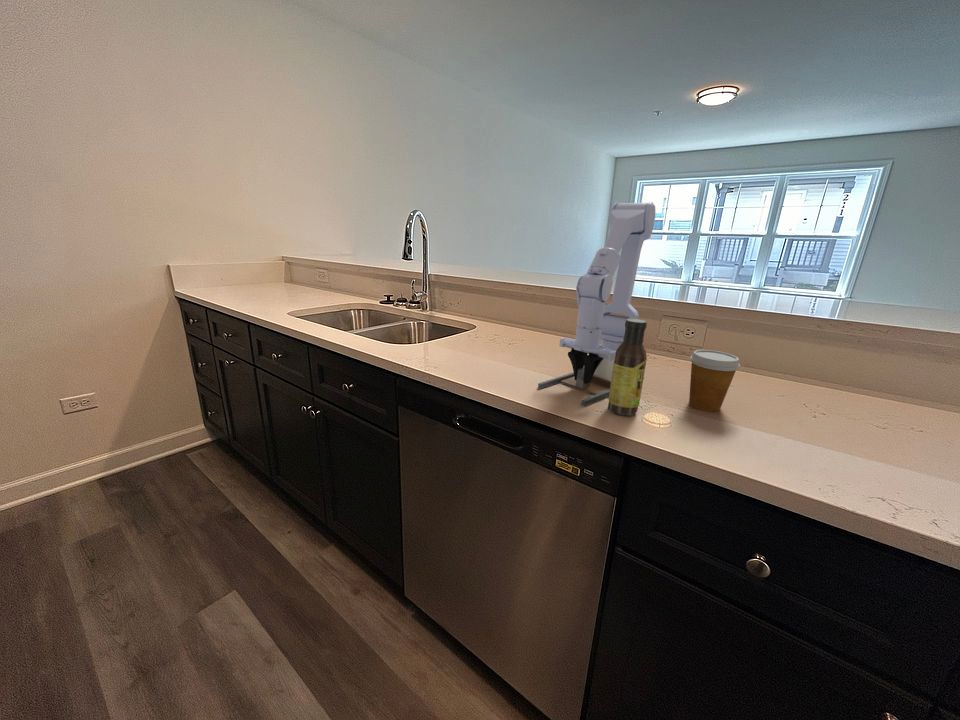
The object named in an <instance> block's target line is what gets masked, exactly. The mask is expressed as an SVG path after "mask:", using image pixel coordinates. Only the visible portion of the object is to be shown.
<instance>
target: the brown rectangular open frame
mask: <svg viewBox="0 0 960 720" xmlns="http://www.w3.org/2000/svg"><path fill="white" fill-rule="evenodd" d="M583 378H584V367H583V368H580V369H578V372H577V380H575V378H574V377H571V378H568V379H565V380H562V381H561V382H560V384H563V385H565V386H568V387H571V388H574V389H575V390H579V391H582V392H584V393H587V394H589V395H591V396H594V395H596V394H599V393H601V392H604V391H606V390H609V389H610V385H611V381H608V380H605V379H602V378H599V377H596V376H593V377H592V380H591V382H590V383H587V384H585V383H584V382H583Z"/></svg>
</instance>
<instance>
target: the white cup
mask: <svg viewBox="0 0 960 720" xmlns="http://www.w3.org/2000/svg"><path fill="white" fill-rule="evenodd" d="M614 361H615V360H612V361H609V360H607V359H606V358H604V359H603V360H602V361H601V363H600V364H599V365H598V367H597V369H596V370H595V372H594V375H593V376H596V377H599V378H602V379H605V380H608V381H611V378H612V372H613V365H614Z"/></svg>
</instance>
